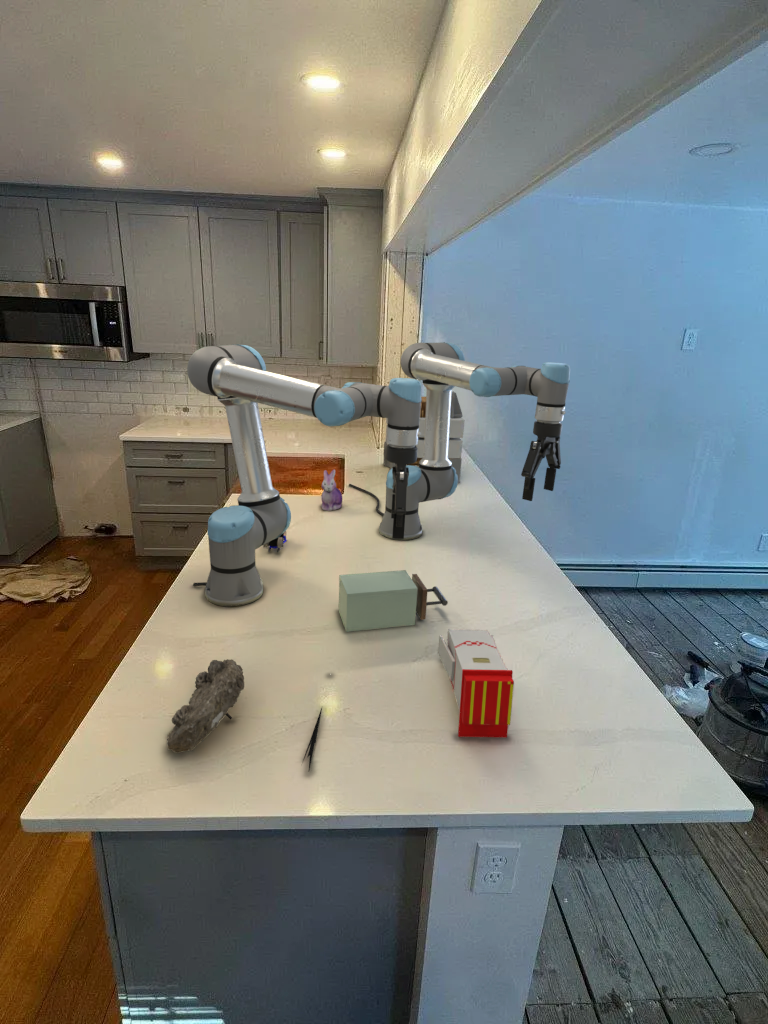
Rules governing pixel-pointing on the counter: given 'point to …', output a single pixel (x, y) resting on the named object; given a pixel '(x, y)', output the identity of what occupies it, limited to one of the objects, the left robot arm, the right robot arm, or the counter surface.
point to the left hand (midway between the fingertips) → (397, 527)
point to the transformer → (454, 436)
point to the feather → (313, 740)
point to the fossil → (206, 705)
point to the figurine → (330, 493)
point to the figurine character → (276, 542)
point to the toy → (478, 682)
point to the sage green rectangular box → (377, 600)
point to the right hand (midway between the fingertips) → (538, 494)
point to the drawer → (422, 597)
